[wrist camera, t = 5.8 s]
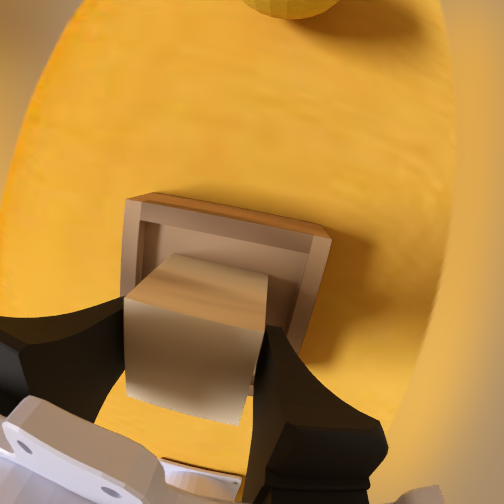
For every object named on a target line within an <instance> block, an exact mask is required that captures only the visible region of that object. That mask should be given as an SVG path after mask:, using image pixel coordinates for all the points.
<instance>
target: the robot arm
mask: <svg viewBox="0 0 504 504" xmlns="http://www.w3.org/2000/svg"><path fill="white" fill-rule="evenodd" d="M125 296H126V295H125ZM125 296H122V297H119V298H117V299H114V300H111V301H108V302H105V303H102V304H100V305H97V306H93V307H90V308H87V309H83V310H80V311H76V312H72V313H68V314H62V315H57V316H48V317H38V318H12V317H2V316H0V504H369V501H368V495H367V490H368V489H369V488H370V481H369V476H370V475H371V474H372V473H373V472H374V470H375V469H376V468H377V467H378V466H379V465H380V464H381V462H382V461H383V460H384V458H385V457H386V455H387V453H388V444H387V441H386V437H385V434H384V431H383V428H382V426H381V424H380V421H378V420H376V419H374V418H372V417H370V416H368V415H366V414H364V413H362V412H360V411H358V410H356V409H355V408H353V407H352V406H350V405H349V404H347V403H345V402H344V401H343V400H341V399H340V398H338V397H337V396H336V395H334V394H333V393H332V392H331V391H330V390H328V389H327V388H326V387H325V386H324V385H323V384H322V383H321V382H320V381H319V380H318V379H317V378H316V377H315V376H314V375H313V374H312V373H311V372H310V371H309V370H308V368H307V367H306V366H305V365H304V363H303V362H302V361H301V359H300V358H299V356H298V355H297V353H296V352H295V350H294V349H293V347H292V346H291V344H290V342H289V340H288V339H287V337H286V335H285V333H284V331H283V330H282V328H281V327H276V326H271V325H266V328H265V332H264V336H263V340H262V344H261V347H260V351H259V355H258V359H257V363H256V369H255V376H254V383H253V431H252V440H251V447H250V454H249V461H248V468H247V474H246V480H245V486H244V492H243V497H242V503H241V502H235V501H234V499H235V497H236V495H237V492H238V490H239V487H240V485H241V482H242V478H241V477H240V476H235V475H230V474H224V473H219V472H214V471H209V470H204V469H200V468H196V467H191V466H187V465H183V464H180V463H176V462H172V461H169V460H165V459H161V458H159V459H158V458H157V457H156V456H155V455H154V454H153V453H151V452H150V451H149V450H148V449H146V448H145V447H144V446H143V445H141V444H139V443H137V442H135V441H133V440H131V439H129V438H127V437H125V436H123V435H121V434H118V433H115V432H113V431H110V430H108V429H105V428H103V427H100V426H98V425H96V424H94V422H95V420H96V417H97V415H98V413H99V411H100V409H101V407H102V405H103V403H104V401H105V399H106V397H107V395H108V393H109V392H110V390H111V389H112V387H113V386H114V384H115V383H116V381H117V380H118V379H119V377H120V376H121V374H122V373H123V372H124V370H125V355H124V297H125ZM386 504H445V501H444V499H443V495H442V493H441V490H440V487H439V485H433V486H429V487H423V488H418V489H413V490H410V491H408V492H406V493H404V494H403V495H402V496H400V497H399V498H398V500H397V501H396V502H393V503H386Z"/></svg>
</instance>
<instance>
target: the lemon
mask: <svg viewBox="0 0 504 504" xmlns="http://www.w3.org/2000/svg"><path fill="white" fill-rule="evenodd" d="M243 1H244V2H245V3H246V4H247V5H248V6H250V7H251V8H253V9H255V10H257V11H258V12H260V13H262V14H265V15H268V16H271V17H275V18H281V19H303V18H309V17H313V16H315V15H318V14H320V13H323V12H325V11H327V10H328V9H329V8H331V7H332V6H333V5H335V4H336V3H337V2H338V1H339V0H243Z"/></svg>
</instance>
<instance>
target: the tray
mask: <svg viewBox="0 0 504 504" xmlns="http://www.w3.org/2000/svg"><path fill="white" fill-rule="evenodd" d="M331 243H332V239H331V237H330V236H329V235H328V233H327V232H326V231H325V230H324V228H323V227H322V226H321V225H319V224H314V223H310V222H305V221H301V220H296V219H291V218H287V217H282V216H277V215H272V214H267V213H263V212H258V211H253V210H248V209H242V208H237V207H232V206H227V205H222V204H216V203H211V202H206V201H200V200H194V199H189V198H183V197H177V196H172V195H166V194H160V193H154V192H152V193H148V194H144V195H140V196H136V197H132V198H129V199H126V202H125V212H124V224H123V237H122V254H121V281H120V297H122V296H125V295H127V294H128V293H129V292H131V291H132V290H133V289H134V288H135V287H136V286H137V285H138V284H139V283H140V282H141V281H142V280H143V279H145V278H146V277H147V276H148V275H149V274H150V273H151V272H152V271H153V270H154V269H156V268H157V267H158V266H159V265H160V264H161V263H162V262H163V261H164V260H166V259H167V258H168V257H169V256H170V255H171V254H172V253H173V254H177V255H181V256H186V257H190V258H195V259H199V260H204V261H208V262H213V263H217V264H222V265H226V266H231V267H235V268H240V269H244V270H249V271H254V272H258V273H263V274H268V286H267V301H266V316H265V328H266V325H271V326H276V327H281V328H282V330H283V331H284V333H285V335H286V337H287V339H288V340H289V342H290V344H291V346H292V347H293V349H294V350H295V352H296V353H297V355H298V354H299V351H300V348H301V345H302V342H303V339H304V336H305V333H306V330H307V327H308V324H309V320H310V317H311V314H312V311H313V307H314V304H315V301H316V297H317V294H318V290H319V287H320V283H321V280H322V276H323V273H324V269H325V266H326V262H327V258H328V254H329V251H330V247H331ZM264 332H265V331H264ZM262 340H263V339H262ZM261 344H262V343H261ZM259 351H260V350H259ZM258 355H259V354H258ZM257 359H258V358H257ZM256 363H257V362H256ZM255 369H256V365H255ZM255 369H254V372H253V376H252V380H251V383H250V387H249V390H248V394H247V395H248V396H253V383H254V376H255Z"/></svg>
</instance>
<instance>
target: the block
mask: <svg viewBox="0 0 504 504" xmlns="http://www.w3.org/2000/svg"><path fill="white" fill-rule="evenodd" d="M267 286H268V274H263V273H258V272H254V271H249V270H244V269H240V268H235V267H231V266H226V265H222V264H217V263H213V262H208V261H204V260H199V259H195V258H190V257H186V256H181V255H177V254H173V253H172V254H171V255H170V256H169V257H168V258H167V259H166V260H164V261H163V262H162V263H161V264H160V265H159V266H158V267H157V268H156V269H154V270H153V271H152V272H151V273H150V274H149V275H148V276H147V277H146V278H145V279H143V280H142V281H141V282H140V283H139V284H138V285H137V286H136V287H135V288H134V289H133V290H132V291H131V292H129V293H128V294H127V295H126V296H125V297H124V355H125V376H126V391H127V396H129V397H132V398H135V399H138V400H141V401H144V402H147V403H150V404H153V405H156V406H159V407H163V408H166V409H169V410H173V411H176V412H180V413H184V414H187V415H191V416H195V417H199V418H203V419H208V420H212V421H216V422H221V423H226V424H231V425H236V426H238V425H239V422H240V418H241V415H242V411H243V408H244V404H245V401H246V397H247V394H248V390H249V387H250V383H251V380H252V376H253V372H254V369H255V365H256V362H257V358H258V354H259V350H260V347H261V343H262V339H263V336H264V331H265V316H266V301H267Z"/></svg>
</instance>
